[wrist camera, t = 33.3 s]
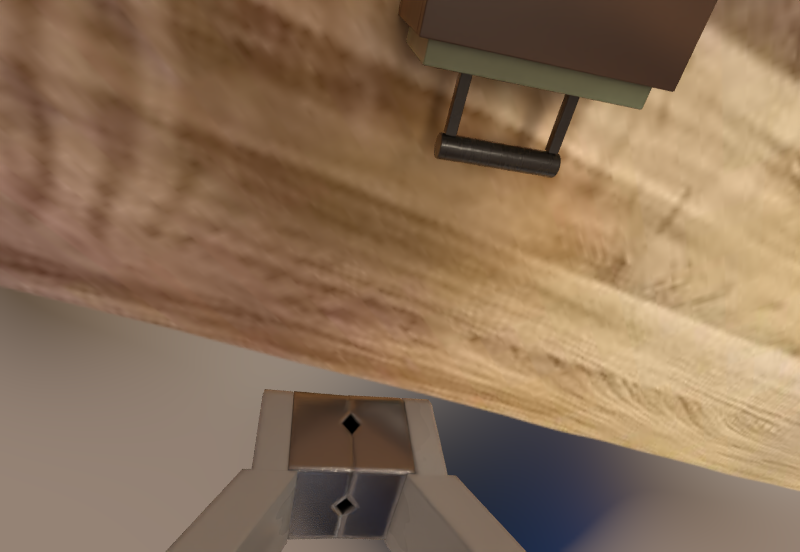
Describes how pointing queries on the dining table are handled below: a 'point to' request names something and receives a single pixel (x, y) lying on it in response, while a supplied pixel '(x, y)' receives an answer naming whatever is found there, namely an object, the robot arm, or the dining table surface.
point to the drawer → (521, 74)
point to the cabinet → (573, 33)
